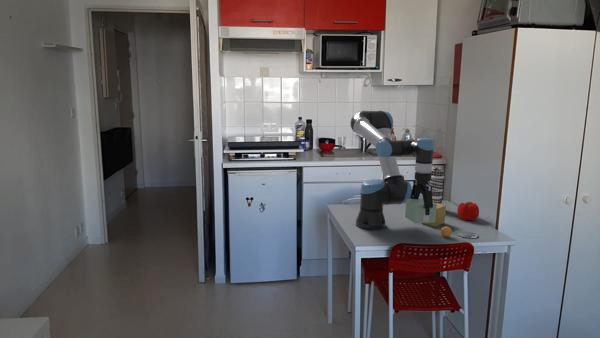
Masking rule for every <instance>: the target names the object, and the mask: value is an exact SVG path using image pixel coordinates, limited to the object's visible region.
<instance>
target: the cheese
mask: <svg viewBox="0 0 600 338" xmlns="http://www.w3.org/2000/svg"><path fill="white" fill-rule="evenodd" d="M436 204H437V208H436V220H435V222H432V223H422V224H424V225H427V226H432V227H438V226H441V225H442V224H445V221H446V211H447V205H445V204H443V203H441V204H438V203H436Z"/></svg>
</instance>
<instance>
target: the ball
mask: <svg viewBox="0 0 600 338" xmlns="http://www.w3.org/2000/svg"><path fill="white" fill-rule="evenodd" d="M440 234H441V236H443V237H444V238H448V237H450V236H451V235H452V229H451V227H449V226H443V227H441V229H440Z"/></svg>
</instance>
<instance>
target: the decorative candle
mask: <svg viewBox="0 0 600 338" xmlns="http://www.w3.org/2000/svg"><path fill="white" fill-rule="evenodd" d="M431 173H432V176H431V181H429V182H428V184H429V186H432V200H433V202H434V203H438V204H443V191H444V186H445V185H444V183H445V181H446V180H445V170H444V168H443V167H441V166H432V171H431Z"/></svg>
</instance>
